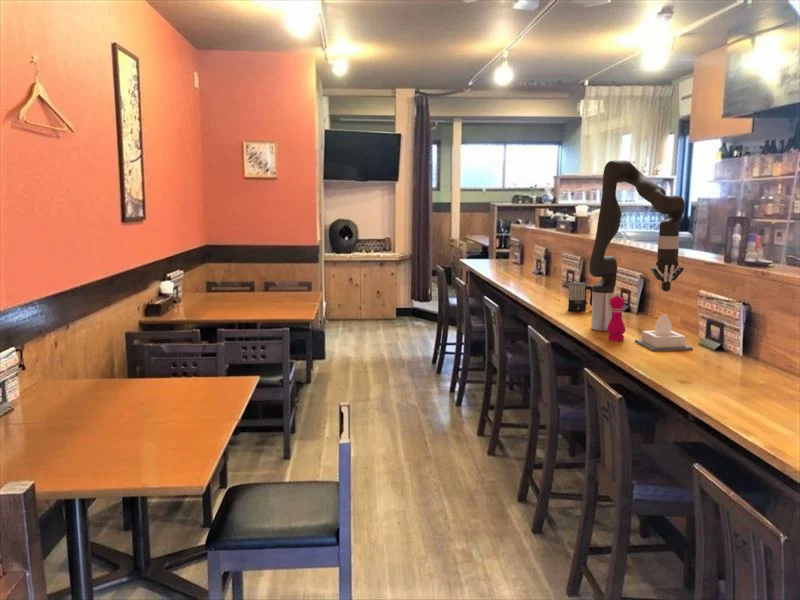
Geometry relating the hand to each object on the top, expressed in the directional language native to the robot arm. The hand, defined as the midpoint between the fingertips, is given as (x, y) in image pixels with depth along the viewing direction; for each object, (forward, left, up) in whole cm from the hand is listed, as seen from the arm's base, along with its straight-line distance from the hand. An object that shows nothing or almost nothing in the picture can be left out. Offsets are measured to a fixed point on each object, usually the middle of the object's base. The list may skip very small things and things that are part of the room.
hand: (665, 291), depth 244 cm
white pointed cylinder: (0, 0, -22) cm, 22 cm away
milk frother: (-84, -6, -23) cm, 87 cm away
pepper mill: (-13, -14, -23) cm, 30 cm away
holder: (0, 0, -22) cm, 22 cm away
